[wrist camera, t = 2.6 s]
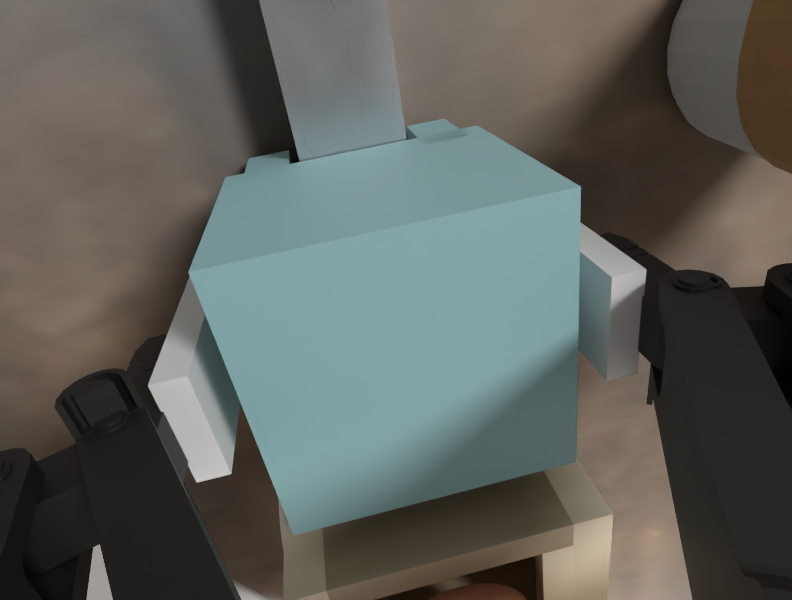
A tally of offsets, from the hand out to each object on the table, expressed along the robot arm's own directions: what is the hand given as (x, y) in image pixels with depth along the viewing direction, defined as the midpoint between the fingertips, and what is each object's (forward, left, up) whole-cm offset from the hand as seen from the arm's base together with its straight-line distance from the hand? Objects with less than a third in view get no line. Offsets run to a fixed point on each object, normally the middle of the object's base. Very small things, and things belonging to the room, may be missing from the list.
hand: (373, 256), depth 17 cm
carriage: (0, 0, -1) cm, 1 cm away
